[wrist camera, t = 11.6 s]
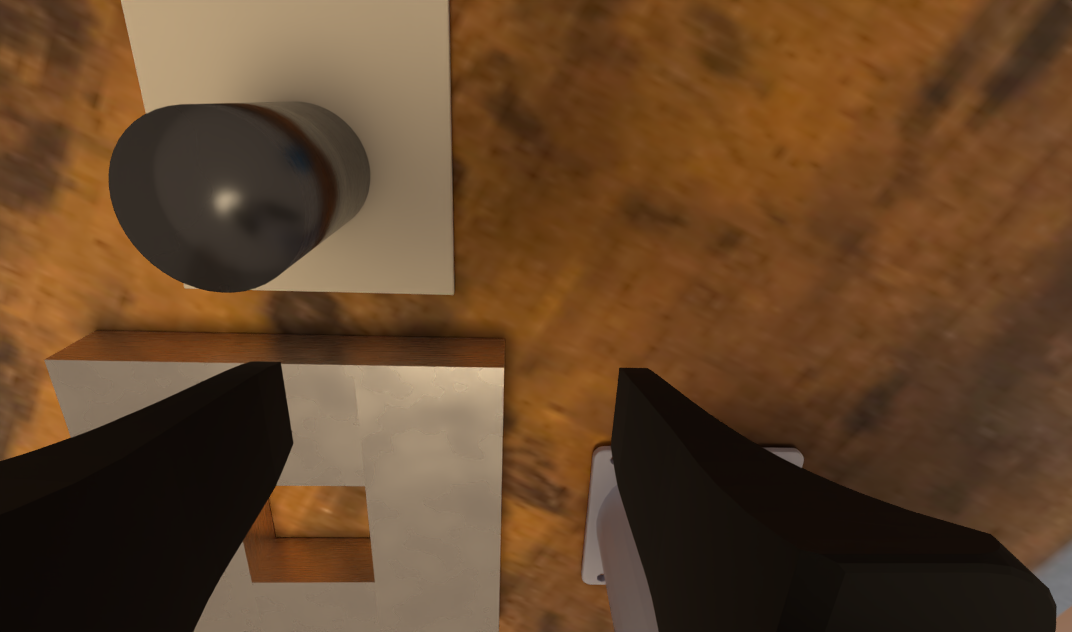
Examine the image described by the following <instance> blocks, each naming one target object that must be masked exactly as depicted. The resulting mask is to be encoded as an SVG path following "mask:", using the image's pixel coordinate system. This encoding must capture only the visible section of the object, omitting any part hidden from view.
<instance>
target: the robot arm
mask: <svg viewBox="0 0 1072 632" xmlns="http://www.w3.org/2000/svg"><path fill="white" fill-rule="evenodd" d="M293 444H294V443H293V436H292V430H291V424H290V417H289V411H288V405H287V398H286V392H285V386H284V379H283V373H282V366H281V362H263V361H251V362H247V363H244V364H241V365H239V366H236V367H234V368H231V369H229V370H226V371H224V372H222V373H220V374H217V375H215V376H213V377H211V378H208V379H206V380H204V381H202V382H200V383H198V384H196V385H193V386H191V387H189V388H187V389H185V390H183V391H180V392H178V393H176V394H174V395H172V396H170V397H167V398H165V399H163V400H161V401H159V402H157V403H154V404H152V405H150V406H147V407H145V408H143V409H140V410H138V411H136V412H133V413H131V414H129V415H126V416H124V417H122V418H119V419H117V420H115V421H112V422H110V423H108V424H105V425H103V426H100V427H98V428H95V429H93V430H90V431H88V432H85V433H82V434H80V435H77V436H74V437H72V438H69V439H66V440H63V441H61V442H58V443H55V444H52V445H49V446H46V447H43V448H41V449H38V450H35V451H32V452H29V453H26V454H23V455H20V456H16V457H13V458H9V459H6V460H3V461H0V632H194V629H195V627H196V625H197V623H198V621H199V619H200V617H201V615H202V613H203V610H204V608H205V606H206V604H207V602H208V600H209V598H210V596H211V595H212V593H213V591H214V589H215V587H216V585H217V584H218V582H219V580H220V578H221V576H222V575H223V573H224V572H225V570H226V568H227V567H228V565H229V563H230V562H231V560H232V558H233V557H234V555H235V553H236V552H237V550H238V548H239V547H240V545H241V543H242V542H243V540H244V538H245V537H246V535H247V533H248V532H249V530H250V529H251V527H252V525H253V524H254V522H255V520H256V519H257V517H258V515H259V514H260V512H261V510H262V509H263V507H264V505H265V503H266V502H267V500H268V498H269V497H270V495H271V493H272V492H273V490H274V488H275V486H276V485H277V482H278V480H279V478H280V476H281V473H282V471H283V469H284V466H285V464H286V461H287V459H288V456H289V454H290V451H291V449H292V446H293ZM612 457H613V459H611V458H612ZM803 462H804V457H803V455H802V454H801V452H800V451H799V450H797V449H796V448H763V447H761V446H759V445H757V444H755V443H754V442H752V441H750V440H749V439H747V438H745V437H744V436H742V435H740V434H739V433H737V432H736V431H734V430H733V429H731V428H730V427H728V426H727V425H725V424H723V423H722V422H720V421H719V420H717V419H716V418H715V417H713V416H712V415H710V414H709V413H707V412H706V411H705V410H703V409H702V408H700V407H699V406H698V405H696V404H695V403H694V402H692V401H691V400H690V399H688V398H687V397H686V396H684V395H683V394H682V393H680V392H679V391H678V390H677V389H675V388H674V387H673V386H671V385H670V384H669V383H667V382H666V381H665V380H664V379H662V378H661V377H660V376H658V375H657V374H655V373H654V372H653V371H651V370H649V369H648V368H619V377H618V386H617V395H616V404H615V413H614V422H613V431H612V440H611V446H601V447H599V448H597V449H596V450H595V451H594V452H593V456H592V466H591V476H590V487H589V497H588V507H587V518H586V528H585V538H584V548H583V559H582V569H581V574H582V580H583V581H584V582H585V583H587V584H591V585H592V584H606V588H607V593H608V599H609V604H610V609H611V615H612V620H613V625H614V631H615V632H1055V630H1056V604H1055V601H1054V599H1053V597H1052V595H1051V593H1050V590H1049V588H1048V587H1047V586H1045V585H1044V584H1043V583H1042V582H1041V581H1040V580H1039V579H1038V578H1037V577H1036V576H1035V575H1034V574H1033V573H1032V572H1031V571H1030V570H1029V569H1027V568H1026V567H1025V566H1024V565H1023V564H1022V563H1021V562H1020V561H1019V560H1018V559H1017V558H1016V557H1015V556H1014V555H1013V554H1012V553H1011V552H1009V551H1008V550H1007V549H1006V548H1005V547H1004V546H1003V545H1002V544H1001V543H1000V542H999V541H998V540H997V539H996V538H995V537H993V536H992V535H991V534H988V533H985V532H981V531H978V530H974V529H971V528H967V527H964V526H960V525H957V524H954V523H950V522H947V521H943V520H940V519H936V518H933V517H929V516H926V515H923V514H919V513H916V512H913V511H910V510H906V509H904V508H901V507H898V506H895V505H892V504H889V503H887V502H884V501H881V500H878V499H875V498H873V497H870V496H867V495H864V494H862V493H859V492H857V491H854V490H852V489H849V488H846V487H844V486H841V485H839V484H837V483H834V482H832V481H830V480H828V479H825V478H823V477H821V476H819V475H816V474H814V473H812V472H810V471H807V470H805V469H803V468H802V466H803ZM600 574H603V575H600Z"/></svg>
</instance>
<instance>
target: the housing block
mask: <svg viewBox="0 0 1072 632" xmlns="http://www.w3.org/2000/svg"><path fill="white" fill-rule="evenodd" d="M504 359H505V339H489V338H440V337H391V336H341V335H292V334H243V333H194V332H145V331H94V332H92V333H90V334H89V335H87V336H85V337H83V338H82V339H80V340H78V341H76V342H75V343H73V344H71V345H69V346H68V347H66V348H64V349H62V350H61V351H59V352H57V353H55V354H54V355H52V356H50V357H48V358H47V359H45V363H46V366H47V369H48V372H49V375H50V378H51V381H52V383H53V386H54V389H55V392H56V395H57V398H58V401H59V404H60V407H61V410H62V412H63V415H64V418H65V421H66V424H67V427H68V430H69V433H70V436H71V438H72V437H74V436H77V435H80V434H82V433H85V432H88V431H90V430H93V429H95V428H98V427H100V426H103V425H105V424H108V423H110V422H112V421H115V420H117V419H119V418H122V417H124V416H126V415H129V414H131V413H133V412H136V411H138V410H140V409H143V408H145V407H147V406H150V405H152V404H154V403H157V402H159V401H161V400H163V399H165V398H167V397H170V396H172V395H174V394H176V393H178V392H180V391H183V390H185V389H187V388H189V387H191V386H193V385H196V384H198V383H200V382H202V381H204V380H206V379H208V378H211V377H213V376H215V375H217V374H220V373H222V372H224V371H226V370H229V369H231V368H234V367H236V366H239V365H241V364H244V363H247V362H251V361H263V362H281V366H282V373H283V379H284V386H285V392H286V398H287V405H288V411H289V417H290V424H291V430H292V436H293V443H294V444H293V446H292V449H291V451H290V454H289V456H288V459H287V461H286V464H285V466H284V469H283V471H282V473H281V476H280V478H279V480H278V482H277V485H276V486H365V488H366V498H367V508H368V518H369V528H370V538H276V537H275V532H274V527H273V521H272V516H271V511H270V505H269V500H267V502H266V503H265V505H264V507H263V509H262V510H261V512H260V514H259V515H258V517H257V519H256V520H255V522H254V524H253V525H252V527H251V529H250V530H249V532H248V533H247V535H246V537H245V538H244V540H243V542H242V543H241V545H240V547H239V548H238V550H237V552H236V553H235V555H234V557H233V558H232V560H231V562H230V563H229V565H228V567H227V568H226V570H225V572H224V573H223V575H222V576H221V578H220V580H219V582H218V584H217V585H216V587H215V589H214V591H213V593H212V595H211V596H210V598H209V600H208V602H207V604H206V606H205V608H204V610H203V613H202V615H201V617H200V619H199V621H198V623H197V625H196V627H195V629H194V632H499V606H500V557H501V507H502V458H503V409H504Z"/></svg>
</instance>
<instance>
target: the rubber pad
mask: <svg viewBox="0 0 1072 632" xmlns="http://www.w3.org/2000/svg"><path fill="white" fill-rule="evenodd" d="M121 3H122V7H123V12H124V16H125V21H126V25H127V30H128V34H129V39H130V44H131V48H132V53H133V57H134V62H135V66H136V71H137V75H138V80H139V84H140V89H141V93H142V98H143V102H144V107H145V111H146V114H147V113H149V112H151V111H153V110H155V109H159V108H162V107H166V106H171V105H179V104H213V103H253V102H306V103H311V104H315V105H318V106H321V107H323V108H325V109H327V110H329V111H331V112H333V113H334V114H336V115H337V116H339V117H340V118H341V119H343V120H344V121H345V122H346V123H347V124H348V125H349V126H350V127H351V129H352V130H353V131H354V132H355V133H356V135H357V136H358V138H359V139H360V141H361V143H362V145H363V147H364V149H365V152H366V154H367V157H368V161H369V166H370V187H369V192H368V195H367V198H366V200H365V203H364V205H363V206H362V208H361V209H360V211H359V212H358V213H357V214H356V215H355V217H354V218H352V219H351V220H350V221H349V222H347V223H346V224H345V225H344V226H342V227H341V228H340V229H338V230H337V231H336V232H335V233H333V234H332V235H331V236H329V237H328V238H327V239H325V240H324V241H323V242H322V243H320V244H319V245H318V246H316V247H315V248H314V249H312V250H311V251H310V252H309V253H307V254H306V255H305V256H303V257H302V258H301V259H300V260H298V261H297V262H296V263H294V264H293V265H292V266H290V267H289V268H288V269H287V270H285V271H284V272H283V273H281V274H280V275H279V276H278V277H276V278H275V279H273V280H272V281H270V282H268V283H267V284H265V285H262V286H260V287H257V288H254V289H251V290H274V291H315V292H356V293H397V294H438V295H454V292H455V288H454V233H453V179H452V124H451V70H450V15H449V0H121ZM184 288H192V289H199V288H195V287H193V286H190V285H187V284H184Z"/></svg>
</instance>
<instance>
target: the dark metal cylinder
mask: <svg viewBox="0 0 1072 632" xmlns="http://www.w3.org/2000/svg"><path fill="white" fill-rule="evenodd" d="M369 187H370V166H369V161H368V157H367V154H366V152H365V149H364V147H363V145H362V143H361V141H360V139H359V138H358V136H357V135H356V133H355V132H354V131H353V130H352V129H351V127H350V126H349V125H348V124H347V123H346V122H345V121H344V120H343V119H341V118H340V117H339V116H337V115H336V114H334V113H333V112H331V111H329V110H327V109H325V108H323V107H321V106H318V105H315V104H311V103H306V102H253V103H213V104H179V105H171V106H166V107H162V108H159V109H155V110H153V111H151V112H149V113H147V114H145V115H143V116H142V117H140V118H139V119H137V120H136V121H134V122H133V123H132V124H131V125H130V126H129V127H128V128H127V129H126V130H125V132H124V133H123V134H122V136H121V137H120V139H119V140H118V142H117V144H116V146H115V148H114V151H113V154H112V157H111V161H110V167H109V190H110V197H111V201H112V205H113V208H114V211H115V214H116V216H117V218H118V221H119V223H120V225H121V227H122V228H123V230H124V232H125V234H126V235H127V237H128V238H129V239H130V241H131V242H132V244H133V245H134V246H135V247H136V248H137V249H138V251H139V252H140V253H141V254H142V255H143V256H144V257H145V258H146V259H147V260H148V261H150V262H151V263H152V264H153V265H154V266H156V267H157V268H158V269H160V270H161V271H162V272H164V273H166V274H167V275H169V276H171V277H172V278H174V279H176V280H178V281H180V282H182V283H184V284H187V285H190V286H193V287H195V288H199V289H203V290H207V291H213V292H241V291H247V290H251V289H254V288H257V287H260V286H262V285H265V284H267V283H268V282H270V281H272V280H273V279H275V278H276V277H278V276H279V275H280V274H281V273H283V272H284V271H285V270H287V269H288V268H289V267H290V266H292V265H293V264H294V263H296V262H297V261H298V260H300V259H301V258H302V257H303V256H305V255H306V254H307V253H309V252H310V251H311V250H312V249H314V248H315V247H316V246H318V245H319V244H320V243H322V242H323V241H324V240H325V239H327V238H328V237H329V236H331V235H332V234H333V233H335V232H336V231H337V230H338V229H340V228H341V227H342V226H344V225H345V224H346V223H347V222H349V221H350V220H351V219H352V218H354V217H355V215H356V214H357V213H358V212H359V211H360V209H361V208H362V206H363V205H364V203H365V200H366V198H367V195H368V192H369Z"/></svg>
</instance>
